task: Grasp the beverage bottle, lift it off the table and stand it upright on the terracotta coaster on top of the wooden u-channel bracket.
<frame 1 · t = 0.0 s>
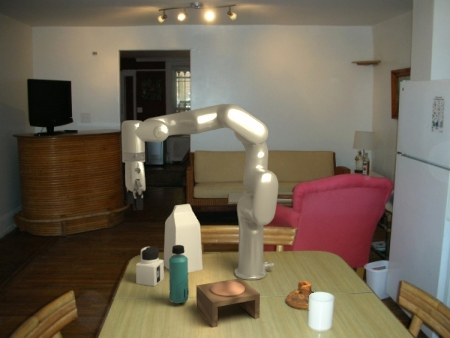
hand: (134, 206, 164), 31 cm above the table, tool pointing down, fingers open, 9 cm apart
candle holder: (303, 303, 162), on the table
container: (150, 282, 179), on the table
milk: (183, 268, 194), on the table
beverage bottle: (179, 303, 161), on the table
wooden u-channel bracket: (227, 313, 154), on the table
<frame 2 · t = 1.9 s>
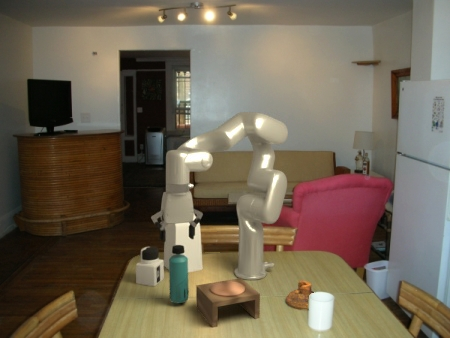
hand: (177, 239, 157), 22 cm above the table, tool pointing down, fingers open, 9 cm apart
nothing on the table moved.
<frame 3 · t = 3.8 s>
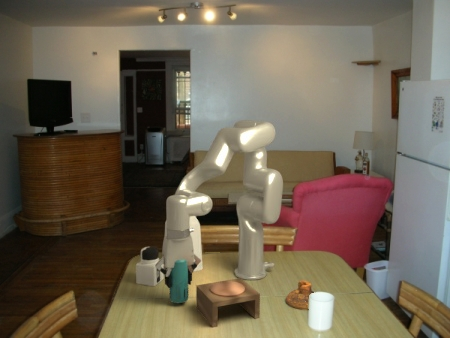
hand: (178, 284, 160), 7 cm above the table, tool pointing down, fingers closed on beverage bottle, 6 cm apart
beverage bottle: (178, 303, 161), on the table, touching gripper
everything else where it was.
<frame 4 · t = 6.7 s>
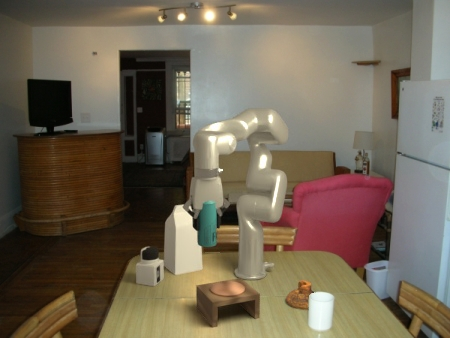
hand: (206, 228, 152), 27 cm above the table, tool pointing down, fingers closed on beverage bottle, 6 cm apart
beverage bottle: (207, 248, 154), point 20 cm above the table, touching gripper
everything else where it was.
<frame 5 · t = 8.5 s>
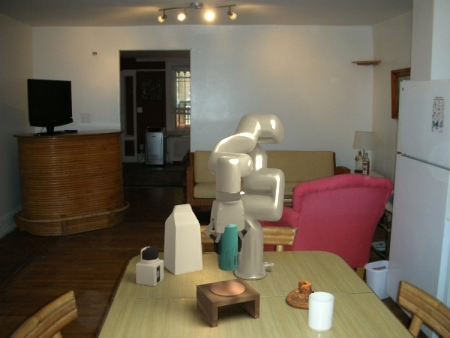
hand: (227, 251, 150), 21 cm above the table, tool pointing down, fingers closed on beverage bottle, 6 cm apart
beverage bottle: (227, 272, 151), point 14 cm above the table, touching gripper
everything else where it was.
when the fingers open (16 cm above the table, at t = 9.8 s): beverage bottle drops 1 cm, resting on wooden u-channel bracket.
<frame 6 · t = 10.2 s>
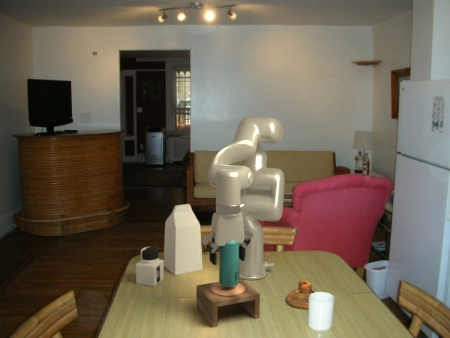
hand: (227, 261, 151), 17 cm above the table, tool pointing down, fingers open, 9 cm apart
beverage bottle: (228, 287, 153), point 8 cm above the table, touching wooden u-channel bracket
everything else where it was.
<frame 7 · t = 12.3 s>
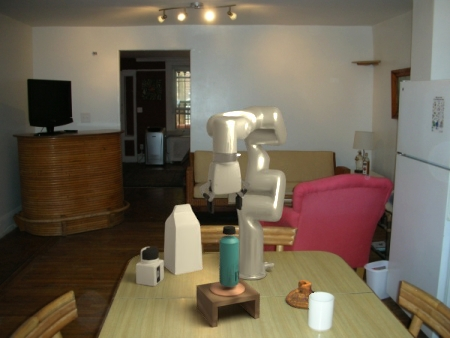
hand: (224, 210, 152), 33 cm above the table, tool pointing down, fingers open, 9 cm apart
nothing on the table moved.
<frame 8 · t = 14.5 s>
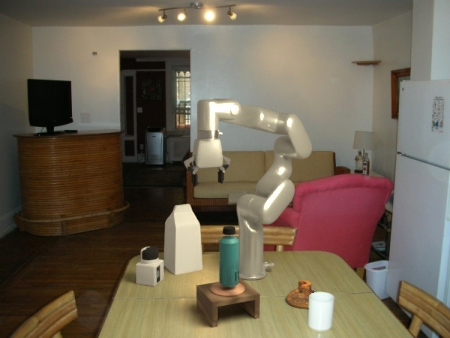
hand: (207, 183, 168), 38 cm above the table, tool pointing down, fingers open, 9 cm apart
nothing on the table moved.
at the end: beverage bottle inside the target area on the wooden u-channel bracket (0.5 cm from its centre), point 8.4 cm above the wooden u-channel bracket's base; beverage bottle tilted 0°; the gripper is holding nothing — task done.
